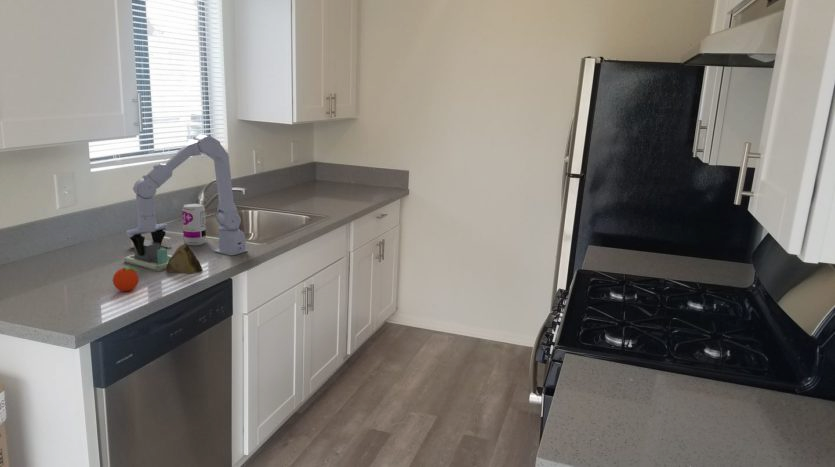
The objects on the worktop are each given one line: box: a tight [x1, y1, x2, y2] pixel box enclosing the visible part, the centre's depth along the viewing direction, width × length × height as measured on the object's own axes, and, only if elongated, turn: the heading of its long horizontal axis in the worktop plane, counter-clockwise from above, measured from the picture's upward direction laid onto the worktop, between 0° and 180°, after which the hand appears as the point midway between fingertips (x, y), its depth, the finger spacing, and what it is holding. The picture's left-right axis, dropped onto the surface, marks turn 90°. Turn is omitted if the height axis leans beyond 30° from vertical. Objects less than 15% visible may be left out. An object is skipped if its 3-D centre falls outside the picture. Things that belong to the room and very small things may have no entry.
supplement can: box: [181, 203, 207, 246], centre depth 233 cm, size 8×8×15 cm
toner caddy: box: [133, 240, 168, 264], centre depth 207 cm, size 12×5×6 cm, turn 59°
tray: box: [123, 254, 173, 272], centre depth 208 cm, size 18×11×2 cm, turn 59°
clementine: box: [112, 267, 142, 292], centre depth 180 cm, size 8×7×7 cm
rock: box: [165, 244, 204, 274], centre depth 200 cm, size 11×9×10 cm
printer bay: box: [130, 232, 172, 249], centre depth 226 cm, size 10×9×6 cm
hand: (148, 253), depth 208 cm, fingers open, 6 cm apart
